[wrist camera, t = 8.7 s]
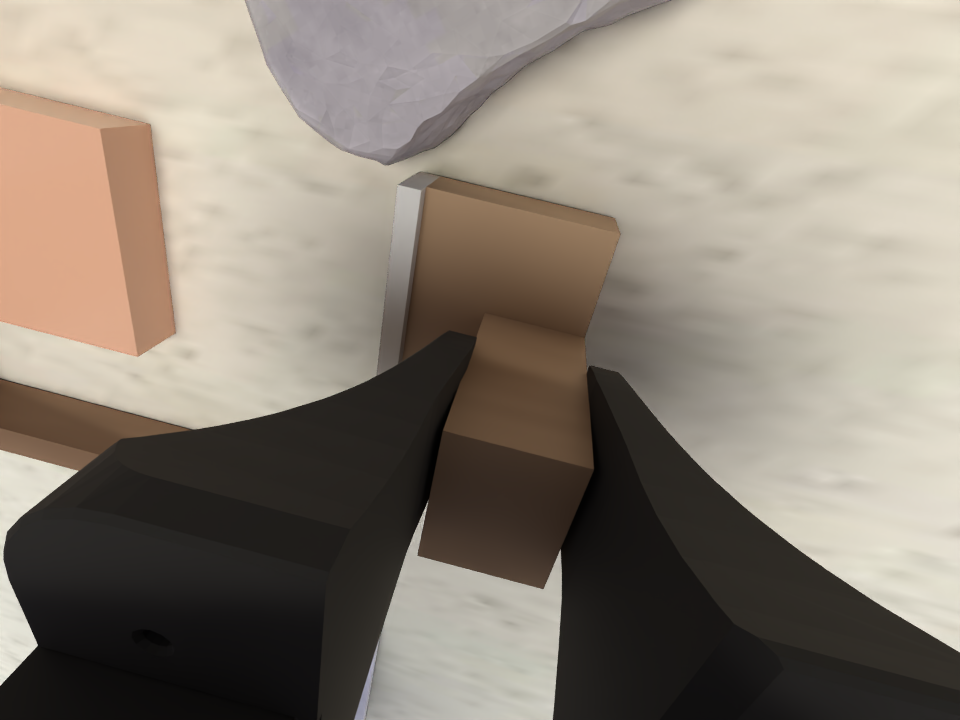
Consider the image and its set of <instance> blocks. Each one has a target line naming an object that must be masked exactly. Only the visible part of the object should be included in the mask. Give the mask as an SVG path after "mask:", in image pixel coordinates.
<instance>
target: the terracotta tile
mask: <svg viewBox="0 0 960 720" xmlns="http://www.w3.org/2000/svg"><path fill="white" fill-rule="evenodd" d="M0 321H1V322H5V323H9V324H13V325H17V326H21V327H24V328H28V329H32V330H36V331H40V332H44V333H48V334H52V335H55V336H59V337H63V338H67V339H71V340H75V341H79V342H82V343H86V344H90V345H94V346H98V347H102V348H106V349H109V350H113V351H117V352H121V353H125V354H129V355H133V356H136V357H138V356H140V355H142V354H143V353H145V352H146V351H148V350H149V349H151V348H153V347H154V346H156V345H157V344H159V343H161V342H162V341H164V340H165V339H167V338H168V337H170V336H172V335H173V334H175V333H176V332H175V323H174V315H173V307H172V299H171V291H170V282H169V274H168V266H167V258H166V250H165V241H164V233H163V225H162V217H161V209H160V200H159V192H158V184H157V176H156V168H155V159H154V151H153V143H152V135H151V127H150V124H147V123H143V122H139V121H135V120H131V119H127V118H123V117H118V116H114V115H110V114H106V113H102V112H98V111H94V110H90V109H86V108H82V107H78V106H74V105H70V104H66V103H62V102H57V101H53V100H49V99H45V98H41V97H37V96H33V95H29V94H25V93H21V92H17V91H13V90H9V89H5V88H1V87H0Z"/></svg>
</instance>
